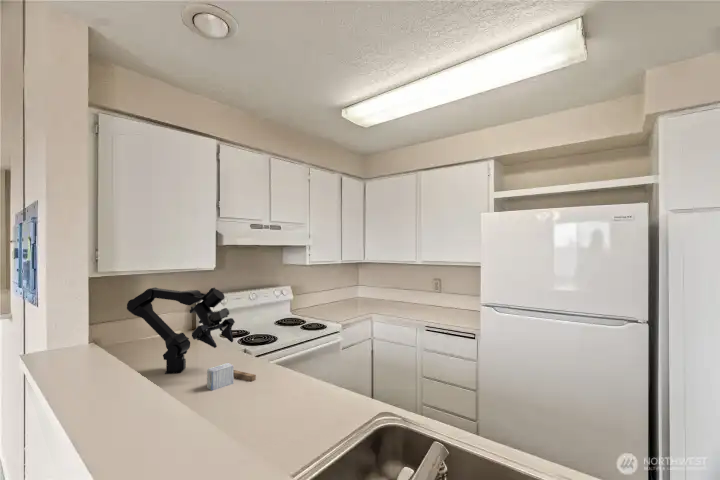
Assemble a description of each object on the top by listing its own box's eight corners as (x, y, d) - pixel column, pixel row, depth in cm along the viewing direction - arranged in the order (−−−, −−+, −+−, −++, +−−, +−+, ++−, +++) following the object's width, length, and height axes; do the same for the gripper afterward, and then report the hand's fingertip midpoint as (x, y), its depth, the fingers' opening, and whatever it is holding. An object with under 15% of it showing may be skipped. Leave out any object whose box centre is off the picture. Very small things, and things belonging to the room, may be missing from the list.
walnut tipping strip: (229, 377, 137) (229, 371, 137) (233, 375, 139) (233, 369, 139) (252, 382, 132) (252, 376, 132) (255, 381, 133) (255, 374, 133)
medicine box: (228, 362, 133) (206, 368, 126) (234, 364, 130) (212, 371, 123) (228, 382, 132) (206, 389, 126) (234, 385, 130) (212, 392, 123)
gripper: (198, 305, 131) (218, 337, 127) (232, 299, 149) (251, 327, 144) (182, 323, 134) (202, 355, 130) (218, 315, 152) (236, 343, 147)
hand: (224, 344), depth 138 cm, fingers open, 9 cm apart
